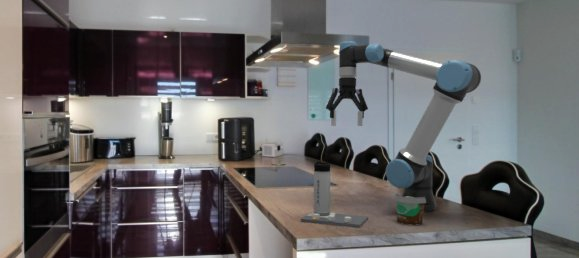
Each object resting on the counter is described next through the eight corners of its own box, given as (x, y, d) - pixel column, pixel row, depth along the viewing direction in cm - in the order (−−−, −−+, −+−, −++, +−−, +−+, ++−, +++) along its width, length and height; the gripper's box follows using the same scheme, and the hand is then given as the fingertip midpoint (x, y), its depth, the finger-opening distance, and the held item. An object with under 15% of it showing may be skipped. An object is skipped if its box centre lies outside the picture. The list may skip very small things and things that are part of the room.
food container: (387, 221, 160) (387, 194, 160) (396, 218, 165) (396, 192, 165) (417, 227, 152) (417, 199, 151) (425, 224, 156) (426, 197, 156)
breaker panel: (368, 219, 164) (368, 212, 164) (359, 227, 151) (359, 220, 151) (313, 213, 172) (313, 207, 172) (300, 221, 159) (300, 214, 159)
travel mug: (325, 211, 170) (325, 161, 169) (332, 215, 164) (333, 162, 163) (310, 213, 168) (311, 161, 167) (317, 216, 162) (318, 163, 161)
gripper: (366, 79, 199) (365, 125, 199) (318, 76, 188) (317, 125, 189) (376, 78, 192) (375, 126, 192) (327, 75, 181) (326, 126, 182)
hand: (346, 126), depth 191 cm, fingers open, 13 cm apart
